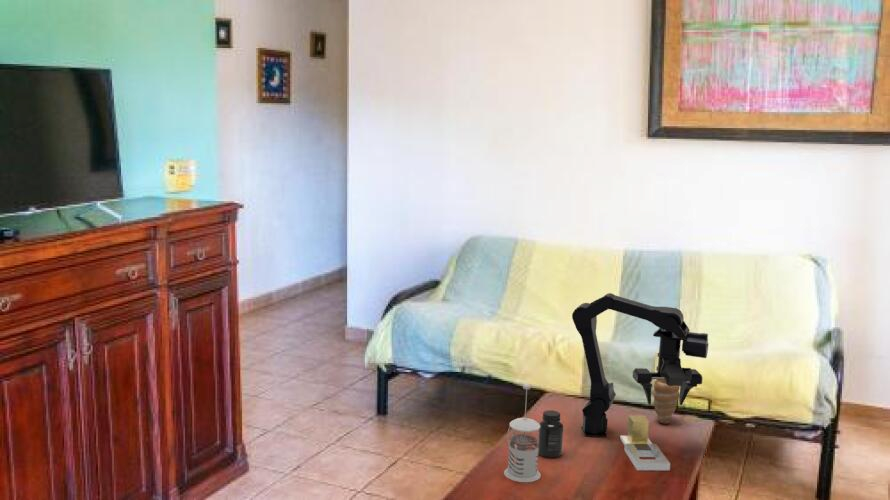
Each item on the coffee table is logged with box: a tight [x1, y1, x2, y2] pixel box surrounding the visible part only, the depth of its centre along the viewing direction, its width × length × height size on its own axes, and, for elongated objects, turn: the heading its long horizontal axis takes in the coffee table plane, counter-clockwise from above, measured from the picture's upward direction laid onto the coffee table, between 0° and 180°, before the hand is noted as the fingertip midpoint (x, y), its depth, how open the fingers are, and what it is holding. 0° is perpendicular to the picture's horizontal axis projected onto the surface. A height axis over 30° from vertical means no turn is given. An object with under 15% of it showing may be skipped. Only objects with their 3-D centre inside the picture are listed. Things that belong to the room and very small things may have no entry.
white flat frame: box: [623, 443, 671, 472], centre depth 231 cm, size 9×13×2 cm
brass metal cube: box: [626, 414, 650, 444], centre depth 241 cm, size 5×5×7 cm
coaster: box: [619, 435, 653, 446], centre depth 242 cm, size 8×8×1 cm
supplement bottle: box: [537, 409, 564, 459], centre depth 232 cm, size 7×7×12 cm
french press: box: [503, 383, 541, 483], centre depth 219 cm, size 10×12×25 cm
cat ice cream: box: [652, 379, 680, 425], centre depth 256 cm, size 9×8×18 cm
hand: (664, 404), depth 239 cm, fingers open, 9 cm apart
